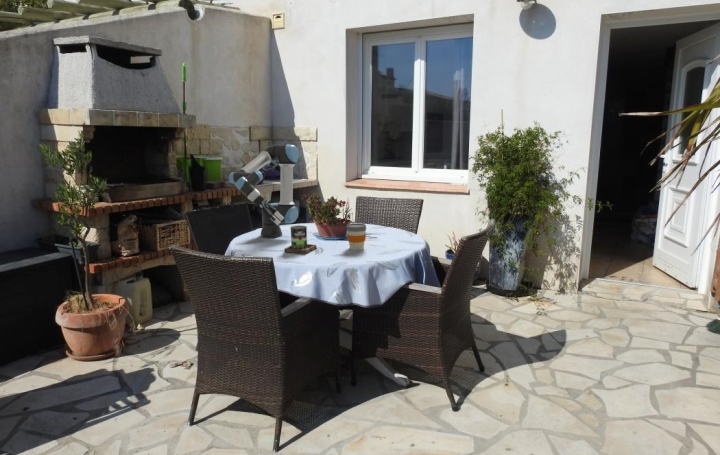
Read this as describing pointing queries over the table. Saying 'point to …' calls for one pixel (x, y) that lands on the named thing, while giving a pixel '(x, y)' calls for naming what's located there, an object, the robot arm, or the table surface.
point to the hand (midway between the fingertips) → (281, 221)
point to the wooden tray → (298, 251)
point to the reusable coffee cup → (356, 236)
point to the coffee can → (299, 237)
